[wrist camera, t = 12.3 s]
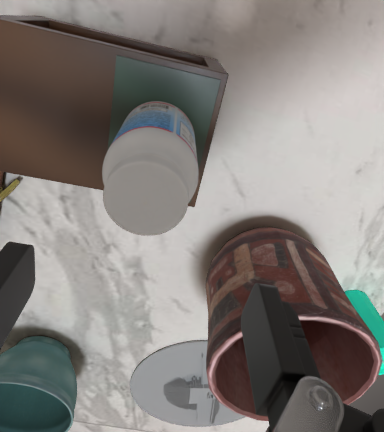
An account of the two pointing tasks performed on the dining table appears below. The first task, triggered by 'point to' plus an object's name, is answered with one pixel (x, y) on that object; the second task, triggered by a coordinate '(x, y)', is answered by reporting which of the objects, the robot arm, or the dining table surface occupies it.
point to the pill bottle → (151, 169)
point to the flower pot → (37, 387)
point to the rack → (91, 96)
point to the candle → (369, 318)
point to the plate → (179, 387)
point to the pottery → (299, 300)
